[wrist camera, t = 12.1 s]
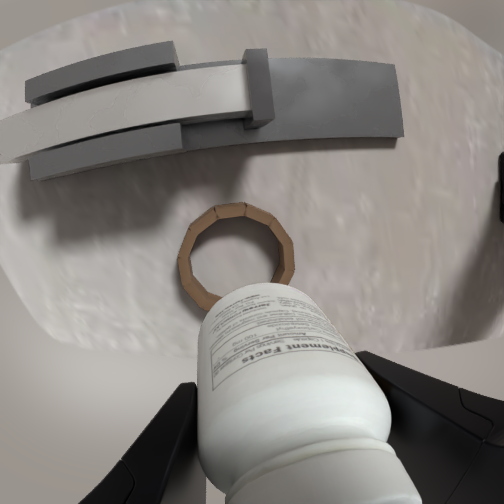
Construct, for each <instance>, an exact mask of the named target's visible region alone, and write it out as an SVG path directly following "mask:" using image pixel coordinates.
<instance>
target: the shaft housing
mask: <svg viewBox="0 0 504 504" xmlns="http://www.w3.org/2000/svg"><path fill="white" fill-rule="evenodd" d="M241 61H242V60H229V61H218V62H208V63H200V64H192V65H184V66H180V64H179V61H178V57H177V54H176V50H175V47H174V43H173V41H167V42H161V43H156V44H150V45H145V46H140V47H135V48H131V49H126V50H122V51H117V52H113V53H109V54H105V55H102V56H98V57H94V58H91V59H87V60H84V61H80V62H77V63H74V64H71V65H68V66H65V67H62V68H59V69H56V70H53V71H50V72H47V73H45V74H42V75H39V76H37V77H34V78H32V79H29V80H27V81H25V102H27V103H31V108H34V107H37V106H39V105H42V104H45V103H48V102H51V101H54V100H57V99H60V98H63V97H67V96H70V95H73V94H77V93H80V92H84V91H87V90H91V89H95V88H98V87H102V86H106V85H110V84H115V83H119V82H123V81H128V80H132V79H137V78H142V77H147V76H153V75H158V74H164V73H170V72H177V71H184V70H191V69H199V68H207V67H217V66H228V65H240V64H241ZM268 62H269V70H270V78H271V86H272V95H273V103H274V112H275V119H274V120H273V121H271V122H270V123H268V124H267V125H265V126H264V127H262V128H250V129H245V124H244V117H242V118H232V119H222V120H214V121H205V122H198V123H190V124H183V125H181V124H180V123H173V124H167V125H161V126H155V127H150V128H144V129H139V130H134V131H129V132H124V133H119V134H114V135H110V136H105V137H101V138H97V139H92V140H88V141H84V142H80V143H76V144H73V145H69V146H65V147H62V148H58V149H54V150H51V151H48V152H44V153H41V154H38V155H34V156H31V157H28V160H29V169H30V177H31V180H37V181H43V180H47V179H51V178H54V177H61V176H66V175H70V174H74V173H78V172H83V171H87V170H91V169H96V168H101V167H105V166H110V165H115V164H120V163H125V162H130V161H136V160H141V159H147V158H152V157H158V156H164V155H171V154H177V153H184V152H188V151H191V150H198V149H206V148H214V147H222V146H231V145H240V144H250V143H261V142H273V141H286V140H302V139H323V138H362V137H387V138H400V137H404V129H403V120H402V111H401V103H400V96H399V89H398V82H397V76H396V70H395V65H393V64H385V63H377V62H367V61H356V60H343V59H324V58H268Z"/></svg>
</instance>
